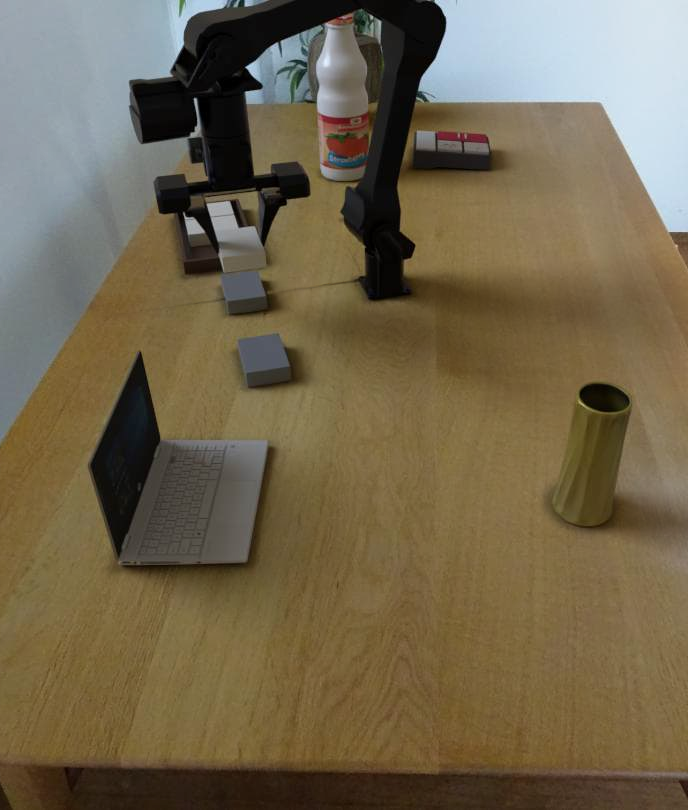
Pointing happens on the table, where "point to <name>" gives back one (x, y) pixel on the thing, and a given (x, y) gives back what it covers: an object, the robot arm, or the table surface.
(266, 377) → the gray flat block
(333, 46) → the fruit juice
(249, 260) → the white flat block
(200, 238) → the white notebook
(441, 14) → the robot arm
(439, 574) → the table surface
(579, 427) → the vase
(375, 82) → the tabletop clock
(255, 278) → the grey rectangular block
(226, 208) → the white notebook
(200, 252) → the book tray
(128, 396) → the laptop
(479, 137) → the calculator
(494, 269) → the table surface
